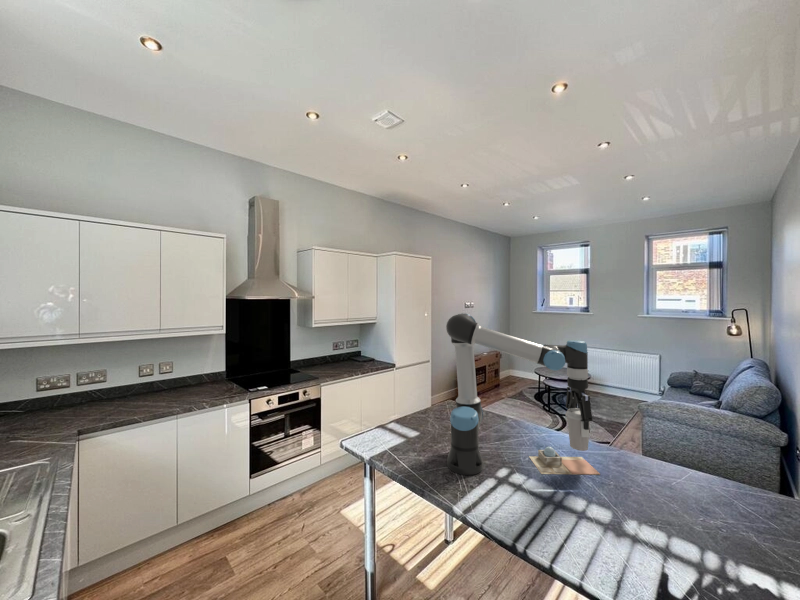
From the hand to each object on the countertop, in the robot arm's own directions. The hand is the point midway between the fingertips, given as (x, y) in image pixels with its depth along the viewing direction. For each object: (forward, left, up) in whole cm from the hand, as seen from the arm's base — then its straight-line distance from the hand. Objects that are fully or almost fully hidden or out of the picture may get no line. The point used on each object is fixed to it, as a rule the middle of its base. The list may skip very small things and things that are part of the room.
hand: (578, 431), depth 130 cm
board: (-6, +2, -16) cm, 17 cm away
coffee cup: (0, 0, -7) cm, 7 cm away
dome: (-10, +5, -13) cm, 17 cm away
